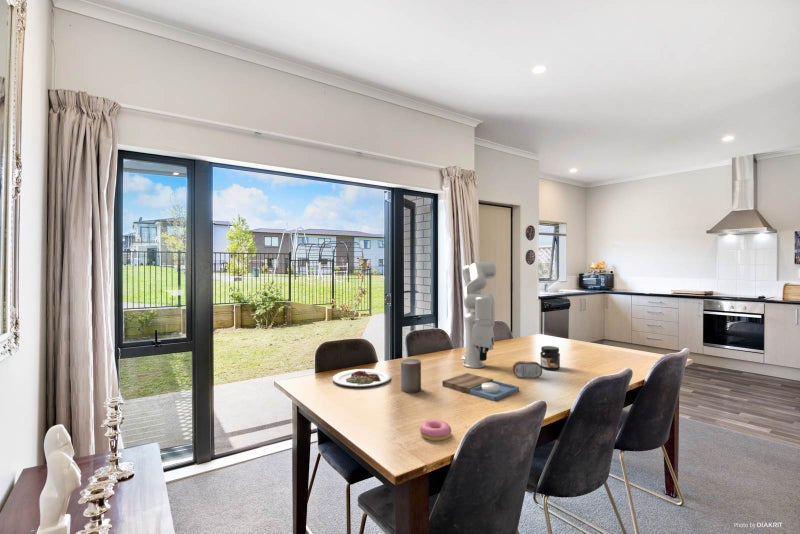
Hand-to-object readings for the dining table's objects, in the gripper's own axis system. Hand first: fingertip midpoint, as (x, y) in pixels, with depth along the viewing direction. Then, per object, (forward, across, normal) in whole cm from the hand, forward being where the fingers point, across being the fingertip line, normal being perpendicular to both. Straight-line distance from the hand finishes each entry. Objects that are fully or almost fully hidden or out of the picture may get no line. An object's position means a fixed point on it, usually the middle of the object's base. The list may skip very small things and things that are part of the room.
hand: (483, 360), depth 186 cm
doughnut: (+12, +18, -55) cm, 59 cm away
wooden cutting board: (+14, -8, -1) cm, 16 cm away
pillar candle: (+14, -23, -26) cm, 37 cm away
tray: (+14, +7, -1) cm, 15 cm away
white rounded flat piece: (+12, +5, -1) cm, 13 cm away
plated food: (+15, -52, -33) cm, 63 cm away
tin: (+15, +6, +32) cm, 36 cm away
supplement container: (+15, +6, +58) cm, 60 cm away
